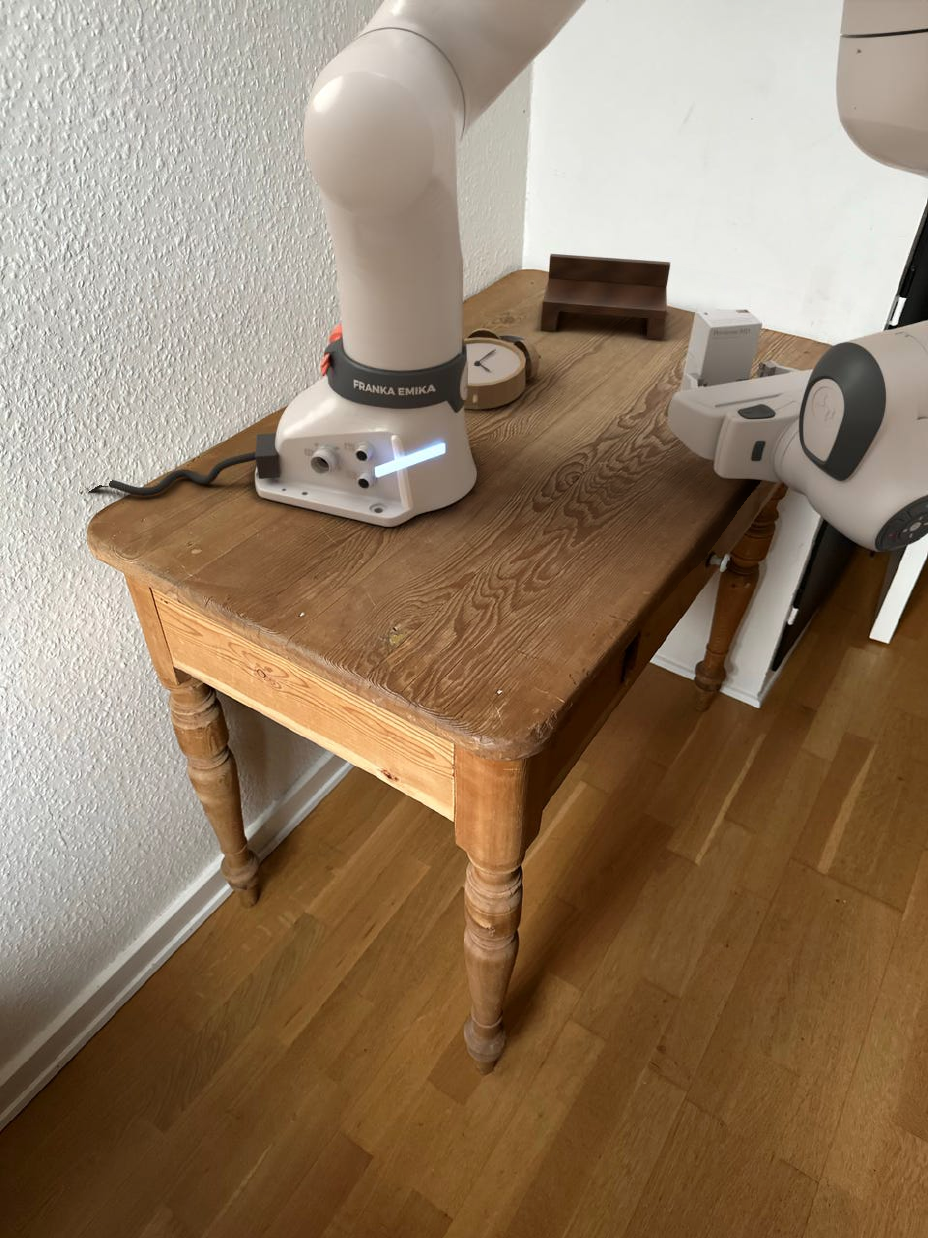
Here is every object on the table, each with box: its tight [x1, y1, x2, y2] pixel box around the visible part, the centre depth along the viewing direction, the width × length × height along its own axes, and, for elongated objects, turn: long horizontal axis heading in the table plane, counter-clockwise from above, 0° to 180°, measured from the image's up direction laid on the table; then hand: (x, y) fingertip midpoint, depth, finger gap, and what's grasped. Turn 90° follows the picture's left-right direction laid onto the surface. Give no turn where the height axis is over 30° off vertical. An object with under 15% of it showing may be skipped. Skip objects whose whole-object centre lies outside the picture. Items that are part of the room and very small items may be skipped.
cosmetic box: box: [679, 308, 763, 391], centre depth 98 cm, size 6×4×12 cm
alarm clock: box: [463, 327, 542, 411], centre depth 108 cm, size 11×5×15 cm
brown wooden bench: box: [540, 253, 671, 341], centre depth 120 cm, size 16×9×7 cm, turn 81°
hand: (726, 373), depth 97 cm, fingers open, 8 cm apart
